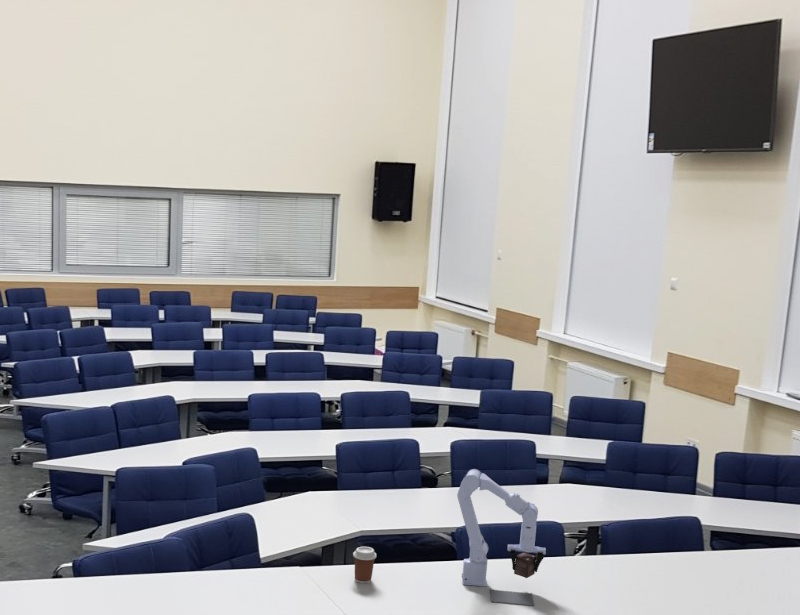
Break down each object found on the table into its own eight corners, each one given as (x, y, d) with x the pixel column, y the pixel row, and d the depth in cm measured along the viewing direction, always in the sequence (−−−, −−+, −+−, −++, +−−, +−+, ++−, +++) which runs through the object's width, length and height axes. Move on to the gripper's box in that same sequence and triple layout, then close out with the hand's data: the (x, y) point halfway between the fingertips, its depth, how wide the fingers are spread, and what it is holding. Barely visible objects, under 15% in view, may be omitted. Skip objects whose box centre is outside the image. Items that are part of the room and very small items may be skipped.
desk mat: (491, 602, 359) (491, 601, 359) (489, 590, 370) (489, 589, 370) (534, 606, 359) (534, 605, 359) (531, 594, 370) (531, 593, 370)
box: (521, 569, 377) (523, 551, 377) (534, 574, 374) (536, 556, 373) (513, 573, 372) (515, 555, 372) (527, 578, 369) (529, 560, 368)
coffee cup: (353, 584, 365) (356, 554, 364) (348, 575, 374) (351, 545, 373) (377, 584, 368) (379, 553, 367) (371, 574, 377) (373, 545, 375)
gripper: (509, 537, 368) (506, 572, 369) (547, 541, 367) (544, 575, 369) (508, 531, 375) (505, 565, 376) (545, 535, 374) (542, 568, 376)
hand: (524, 569), depth 373 cm, fingers closed on box, 7 cm apart
